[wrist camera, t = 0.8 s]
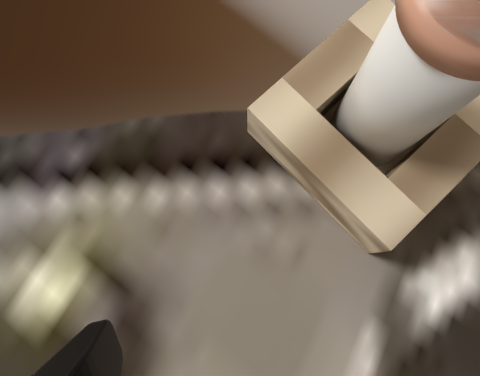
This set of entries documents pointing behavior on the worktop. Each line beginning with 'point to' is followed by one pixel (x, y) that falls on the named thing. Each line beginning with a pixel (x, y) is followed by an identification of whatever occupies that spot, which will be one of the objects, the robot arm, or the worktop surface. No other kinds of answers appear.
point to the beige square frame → (346, 155)
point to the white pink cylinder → (412, 77)
